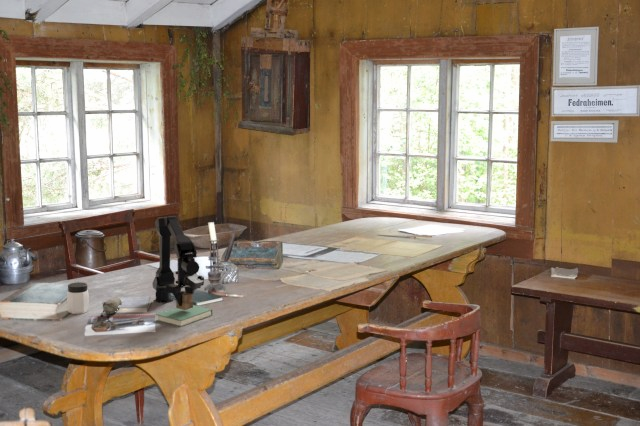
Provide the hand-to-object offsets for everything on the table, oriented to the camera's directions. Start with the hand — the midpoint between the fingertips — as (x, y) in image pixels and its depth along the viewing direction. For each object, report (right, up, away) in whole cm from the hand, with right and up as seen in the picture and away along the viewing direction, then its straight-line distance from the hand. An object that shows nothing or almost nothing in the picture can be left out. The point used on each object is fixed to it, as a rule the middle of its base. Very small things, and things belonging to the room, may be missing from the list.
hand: (184, 304), depth 353 cm
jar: (-48, -4, +7) cm, 48 cm away
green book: (0, -6, +1) cm, 6 cm away
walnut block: (0, -1, 0) cm, 1 cm away
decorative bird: (-32, -5, +4) cm, 33 cm away
